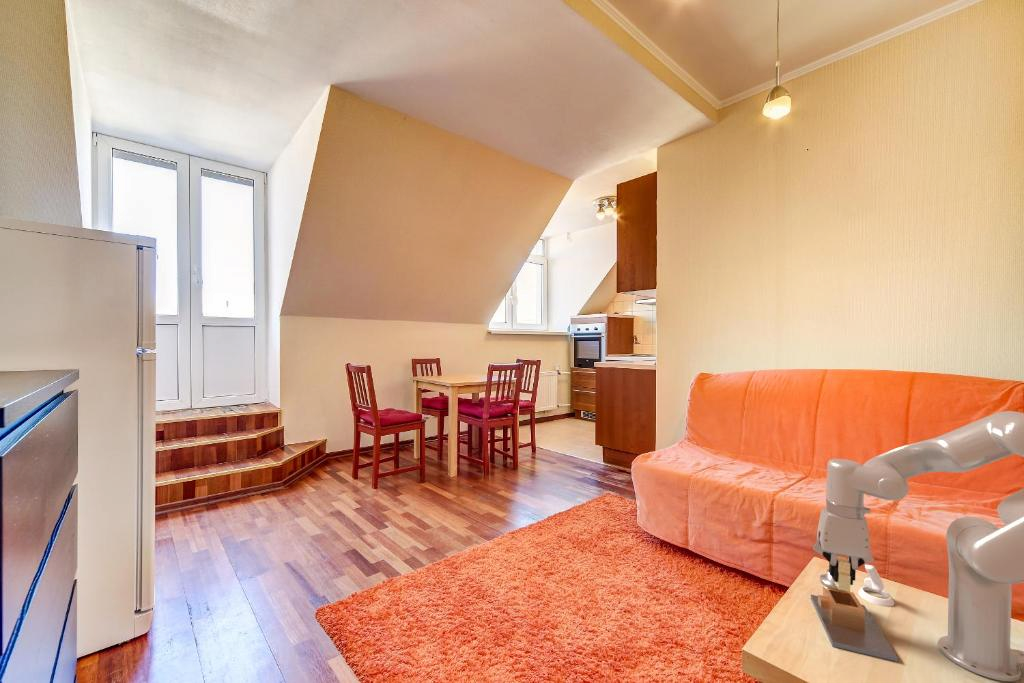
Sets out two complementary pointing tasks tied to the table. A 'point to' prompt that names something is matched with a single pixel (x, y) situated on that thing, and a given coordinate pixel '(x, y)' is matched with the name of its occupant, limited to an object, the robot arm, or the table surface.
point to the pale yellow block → (843, 574)
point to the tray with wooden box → (849, 622)
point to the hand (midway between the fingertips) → (841, 579)
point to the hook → (875, 588)
